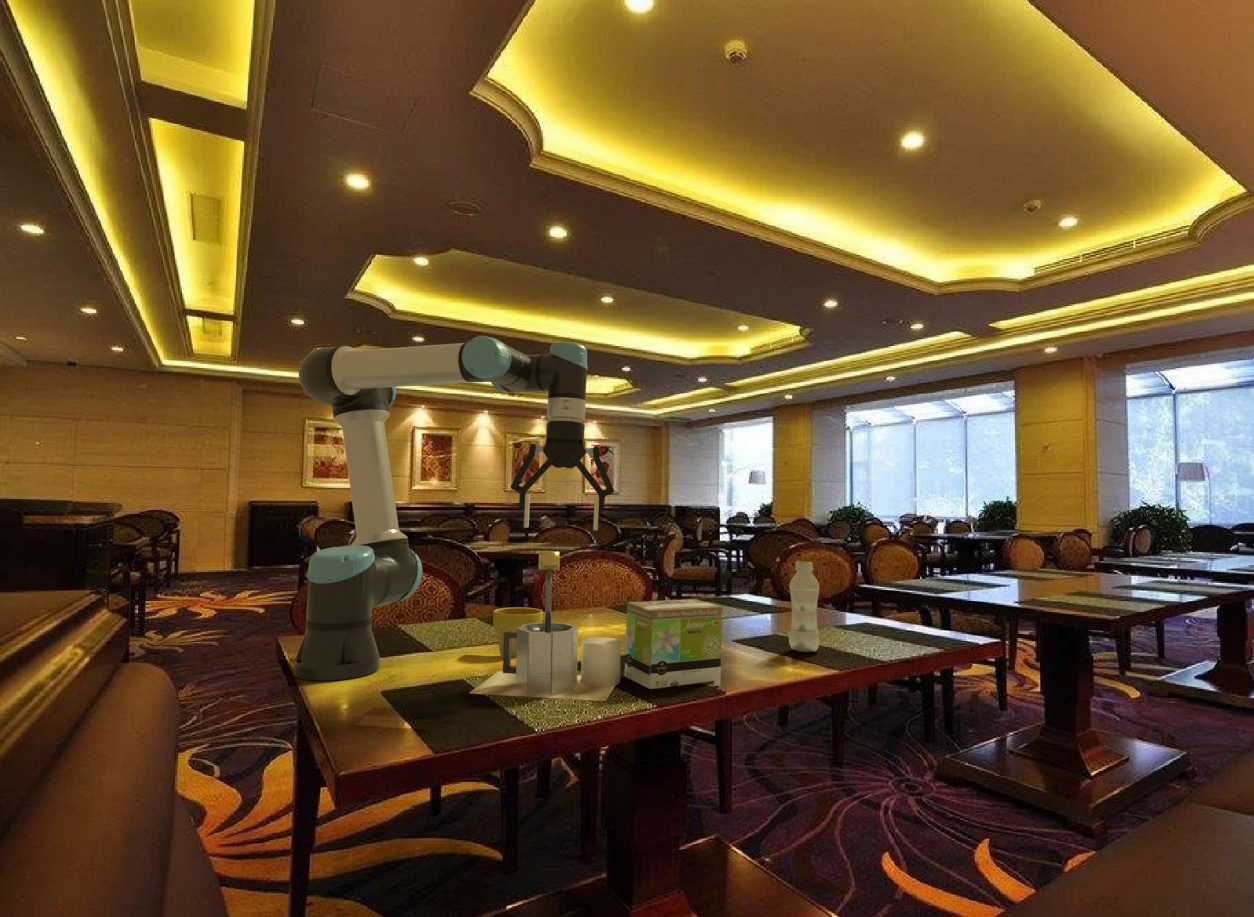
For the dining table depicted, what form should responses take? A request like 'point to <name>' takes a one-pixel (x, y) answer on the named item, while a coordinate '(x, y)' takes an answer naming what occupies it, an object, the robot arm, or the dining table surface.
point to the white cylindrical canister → (600, 661)
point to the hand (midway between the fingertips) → (560, 528)
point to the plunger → (548, 582)
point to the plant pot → (514, 623)
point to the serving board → (507, 687)
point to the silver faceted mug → (543, 658)
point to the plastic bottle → (804, 609)
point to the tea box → (673, 643)
